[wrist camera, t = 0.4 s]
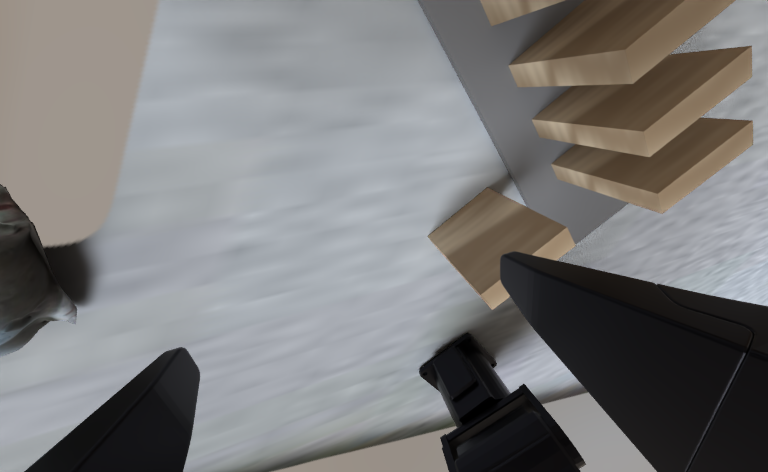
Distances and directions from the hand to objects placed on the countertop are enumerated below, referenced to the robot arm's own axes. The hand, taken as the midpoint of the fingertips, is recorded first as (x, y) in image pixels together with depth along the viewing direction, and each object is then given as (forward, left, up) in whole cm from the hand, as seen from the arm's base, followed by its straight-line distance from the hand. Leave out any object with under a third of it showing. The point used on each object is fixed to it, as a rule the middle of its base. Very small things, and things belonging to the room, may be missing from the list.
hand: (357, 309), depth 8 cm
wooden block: (-3, -17, -13) cm, 22 cm away
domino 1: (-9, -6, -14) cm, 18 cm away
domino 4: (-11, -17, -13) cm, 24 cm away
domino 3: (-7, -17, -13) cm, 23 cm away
